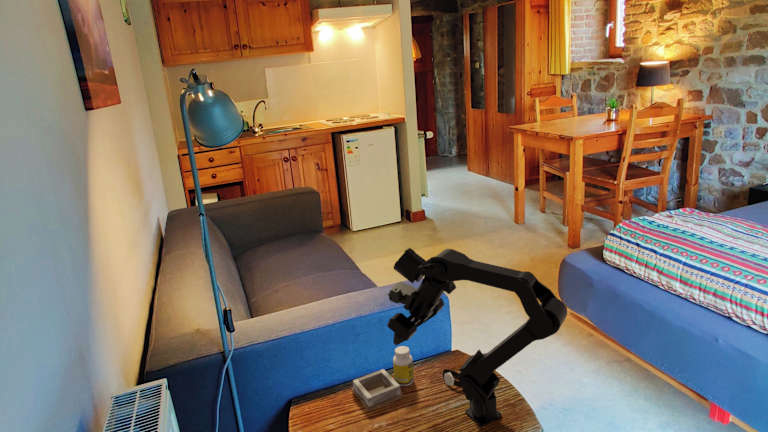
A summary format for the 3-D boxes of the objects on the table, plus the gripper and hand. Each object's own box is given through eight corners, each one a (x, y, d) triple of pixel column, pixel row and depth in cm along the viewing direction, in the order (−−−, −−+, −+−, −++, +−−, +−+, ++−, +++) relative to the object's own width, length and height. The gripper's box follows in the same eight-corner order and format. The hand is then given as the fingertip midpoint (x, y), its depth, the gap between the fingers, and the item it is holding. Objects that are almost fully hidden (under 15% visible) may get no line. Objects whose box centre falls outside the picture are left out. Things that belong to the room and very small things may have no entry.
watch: (438, 379, 136) (437, 367, 135) (451, 372, 139) (450, 361, 138) (456, 392, 130) (456, 380, 129) (470, 385, 133) (469, 373, 132)
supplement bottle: (412, 387, 134) (410, 355, 131) (393, 386, 135) (390, 354, 132) (415, 375, 139) (413, 344, 136) (396, 374, 140) (393, 344, 137)
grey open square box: (402, 397, 130) (401, 385, 129) (368, 411, 125) (367, 399, 125) (384, 378, 138) (383, 367, 137) (352, 391, 134) (351, 380, 133)
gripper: (421, 260, 130) (399, 301, 138) (382, 288, 115) (360, 332, 123) (455, 286, 126) (431, 326, 134) (419, 318, 111) (394, 361, 119)
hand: (404, 335), depth 128 cm, fingers open, 9 cm apart
